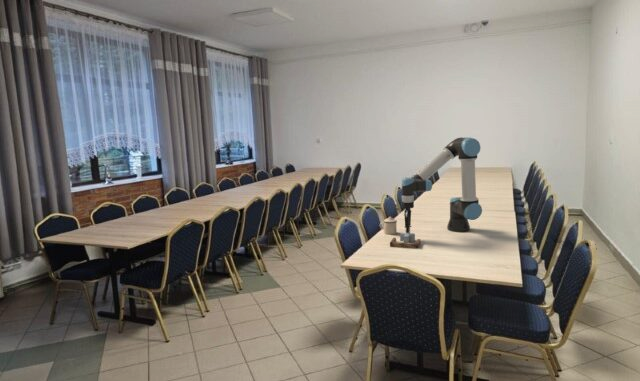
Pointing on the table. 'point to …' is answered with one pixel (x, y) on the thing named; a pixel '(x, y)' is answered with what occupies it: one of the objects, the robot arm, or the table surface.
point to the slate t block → (407, 237)
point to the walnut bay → (404, 244)
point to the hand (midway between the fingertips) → (407, 236)
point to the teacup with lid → (389, 226)
